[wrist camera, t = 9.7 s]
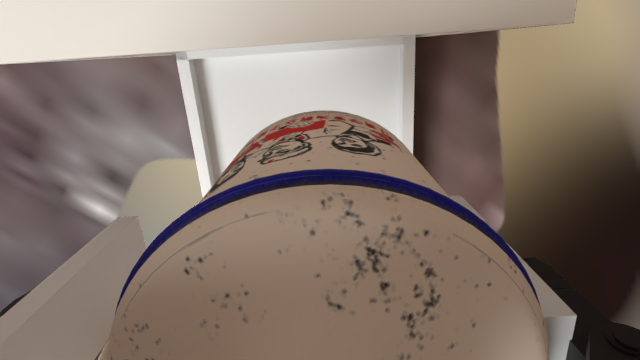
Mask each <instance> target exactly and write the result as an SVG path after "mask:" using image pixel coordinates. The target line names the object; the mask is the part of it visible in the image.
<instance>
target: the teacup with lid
mask: <svg viewBox="0 0 640 360" xmlns="http://www.w3.org/2000/svg"><path fill="white" fill-rule="evenodd" d="M98 360H549V341H548V335H547V329H546V324H545V320H544V317H543V314H542V311H541V306H540V303H539V300H538V297H537V294H536V290H535V288H534V286H533V284H532V282H531V279H530V277H529V275H528V273H527V271H526V270H525V268H524V267H523V265H522V264H521V262H520V260H519V259H518V257H517V256H516V254H515V253H514V252H513V251H512V249H511V248H510V247H509V246H508V245H507V243H506V242H505V241H504V240H503V239H502V237H500V236H499V235H498V234H497V233H496V232H495V231H494V230H493V229H492V228H491V227H490V226H489V225H488V224H487V223H486V222H484V221H483V220H482V219H480V218H479V217H478V216H476V215H475V214H474V213H472V212H471V211H470V210H468V209H467V208H465V207H464V206H462V205H460V204H459V203H457V202H455V201H454V200H452V199H450V197H449V196H448V195H447V194H446V193H445V192H444V190H443V189H442V188H441V187H440V186H439V185H438V183H437V182H436V181H435V180H434V179H433V178H432V176H431V175H430V174H429V173H428V172H427V171H426V169H425V168H424V167H423V166H422V165H421V164H420V162H419V161H418V160H417V159H416V158H415V157H414V155H413V154H412V153H411V152H410V151H409V150H408V148H407V147H406V146H405V145H404V144H403V143H402V142H401V141H400V140H399V139H398V138H397V137H396V136H395V135H394V134H392V133H391V132H390V131H388V130H387V129H385V128H384V127H382V126H381V125H379V124H377V123H375V122H373V121H371V120H369V119H366V118H364V117H361V116H358V115H355V114H351V113H347V112H340V111H329V110H321V111H310V112H303V113H299V114H295V115H292V116H289V117H286V118H283V119H281V120H279V121H277V122H275V123H272V124H271V125H269V126H267V127H266V128H264V129H263V130H261V131H260V132H259V133H257V134H256V135H255V136H254V137H253V138H252V139H250V140H249V141H248V142H247V143H246V145H245V146H244V147H243V148H242V149H241V150H240V152H239V153H238V154H237V155H236V157H235V158H234V159H233V161H232V162H231V163H230V164H229V166H228V167H227V168H226V169H225V171H224V172H223V173H222V174H221V176H220V177H219V178H218V180H217V181H216V182H215V183H214V185H213V186H212V187H211V188H210V190H209V191H208V192H207V194H206V195H205V196H204V197H203V199H202V200H201V201H200V202H199V204H198V205H196V206H194V207H193V208H191V209H190V210H188V211H187V212H186V213H185V214H183V215H182V216H181V217H179V218H178V219H176V220H175V221H174V222H172V223H171V224H170V225H169V226H168V227H167V228H166V229H165V230H164V231H163V232H162V233H160V234H159V235H158V236H157V237H156V239H155V240H154V241H153V242H152V243H151V244H150V246H149V247H148V248H147V249H146V250H145V251H144V253H143V254H142V255H141V257H140V258H139V260H138V261H137V263H136V264H135V266H134V267H133V269H132V271H131V273H130V275H129V277H128V279H127V281H126V283H125V285H124V287H123V289H122V292H121V295H120V298H119V300H118V303H117V307H116V312H115V317H114V320H113V324H112V329H111V334H110V339H109V341H108V343H107V344H106V346H105V347H104V349H103V350H102V352H101V354H100V356H99V358H98Z"/></svg>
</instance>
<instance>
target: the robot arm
mask: <svg viewBox="0 0 640 360" xmlns="http://www.w3.org/2000/svg"><path fill="white" fill-rule="evenodd" d="M449 197H450V199H452V200H454V201H455V202H457V203H459V204H460V205H462V206H464V207H465V208H467V209H468V210H470V211H471V212H472V213H474V214H475V215H476V216H478V217H479V218H480V219H482V220H483V221H484V222H486V221H485V220H484V219H483V218H482V217H481V216H480V215H479V214H478V213H477V212H476V211H475V210H474V209H473V208H472V207H471V206H470V205H469V204H468V203H467V202H466V200H465V199H464V198H463V197H462V196H449ZM486 223H487V222H486ZM487 224H488V223H487ZM488 225H489V224H488ZM489 226H490V225H489ZM490 227H491V226H490ZM491 228H492V227H491ZM492 229H493V228H492ZM493 230H494V229H493ZM494 231H495V230H494ZM495 232H496V231H495ZM496 233H497V232H496ZM507 245H508V244H507ZM508 246H509V245H508ZM509 247H510V246H509ZM510 248H511V247H510ZM511 249H512V248H511ZM145 250H146V246H145V242H144V238H143V234H142V230H141V227H140V223H139V219H138V216H133V217H118V218H117V219H116V220H115V221H113V222H112V223H111V224H110V225H109V226H108V227H106V228H105V229H104V230H103V231H102V232H100V233H99V234H98V235H97V236H96V237H95V238H93V239H92V240H91V241H90V242H89V243H87V244H86V245H85V246H84V247H83V248H82V249H80V250H79V251H78V252H77V253H76V254H74V255H73V256H72V257H71V258H70V259H69V260H67V261H66V262H65V263H64V264H63V265H62V266H60V267H59V268H58V269H57V270H56V271H54V272H53V273H52V274H51V275H50V276H49V277H47V278H46V279H45V280H44V281H43V282H41V283H40V284H39V285H38V286H37V287H36V288H34V289H33V290H31V291H30V292H28V293H26V294H24V295H23V296H21V297H19V298H17V299H16V300H14V301H13V302H12V303H11V304H9V305H8V306H7V307H6V308H5V309H3V310H2V311H1V312H0V360H94V359H95V358H96V356H97V355H98V353H99V352H100V351H101V349H102V348H103V346H104V345H105V344H106V342H107V341H108V339H109V338H110V334H111V329H112V324H113V320H114V317H115V312H116V307H117V303H118V300H119V298H120V295H121V292H122V289H123V287H124V285H125V283H126V281H127V279H128V277H129V275H130V273H131V271H132V269H133V267H134V266H135V264H136V263H137V261H138V260H139V258H140V257H141V255H142V254H143V253H144V251H145ZM512 251H513V252H514V253H515V254H516V256H517V257H518V259H519V260H520V262H521V264H522V265H523V267H524V268H525V270H526V271H527V273H528V275H529V277H530V279H531V282H532V284H533V286H534V288H535V290H536V294H537V297H538V300H539V303H540V306H541V311H542V314H543V317H544V320H545V324H546V329H547V335H548V341H549V360H640V330H639V329H636V328H633V327H631V326H628V325H624V324H619V323H614V322H611V321H610V320H609V319H608V318H607V317H606V316H604V314H602V313H601V312H600V311H599V310H598V309H597V308H596V307H595V306H594V305H593V304H592V303H591V302H590V301H588V300H587V299H586V298H585V297H584V296H583V295H582V294H581V293H580V292H579V291H578V290H575V288H574V286H572V285H571V284H570V283H569V282H568V281H567V280H565V279H564V277H563V276H562V275H561V274H560V273H558V272H557V271H556V270H555V269H554V268H553V267H552V266H550V265H548V264H546V263H544V262H543V261H541V260H539V259H537V258H521V257H520V256H519V255H518V254H517V253H516V252H515V251H514V250H513V249H512Z"/></svg>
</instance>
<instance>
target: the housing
mask: <svg viewBox="0 0 640 360" xmlns="http://www.w3.org/2000/svg"><path fill="white" fill-rule="evenodd" d="M576 3H577V0H0V64H15V63H33V62H52V61H70V60H88V59H106V58H125V57H143V56H161V55H175V52H180V51H194V50H209V49H223V48H237V47H251V46H265V45H279V44H293V43H307V42H321V41H335V40H349V39H363V38H377V37H391V36H405V35H415V38H416V37H429V36H440V35H451V34H462V33H472V32H483V31H494V30H504V29H515V28H526V27H536V26H548V25H558V24H569V23H573V22H574V16H575V10H576Z"/></svg>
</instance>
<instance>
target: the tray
mask: <svg viewBox="0 0 640 360" xmlns="http://www.w3.org/2000/svg"><path fill="white" fill-rule="evenodd" d="M175 55H176V60H177V65H178V70H179V76H180V81H181V86H182V91H183V96H184V102H185V107H186V112H187V117H188V123H189V128H190V133H191V138H192V144H193V149H194V154H195V159H196V165H197V170H198V174H199V180H200V185H201V191H202V196H203V197H204V196H205V195H206V194H207V192H208V191H209V190H210V188H211V187H212V186H213V185H214V183H215V182H216V181H217V180H218V178H219V177H220V176H221V174H222V173H223V172H224V171H225V169H226V168H227V167H228V166H229V164H230V163H231V162H232V161H233V159H234V158H235V157H236V155H237V154H238V153H239V152H240V150H241V149H242V148H243V147H244V146H245V145H246V143H247V142H248V141H249V140H250V139H252V138H253V137H254V136H255V135H256V134H257V133H259V132H260V131H261V130H263V129H264V128H266V127H267V126H269V125H271V124H272V123H275V122H277V121H279V120H281V119H283V118H286V117H289V116H292V115H295V114H299V113H303V112H310V111H321V110H329V111H340V112H347V113H351V114H355V115H358V116H361V117H364V118H366V119H369V120H371V121H373V122H375V123H377V124H379V125H381V126H382V127H384V128H385V129H387V130H388V131H390V132H391V133H392V134H394V135H395V136H396V137H397V138H398V139H399V140H400V141H401V142H402V143H403V144H404V145H405V146H406V147H407V148H408V150H409V151H410V152H411V153H412V154H413V130H414V82H415V35H405V36H391V37H377V38H363V39H349V40H335V41H321V42H307V43H293V44H279V45H265V46H251V47H237V48H223V49H209V50H194V51H180V52H175Z"/></svg>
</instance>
